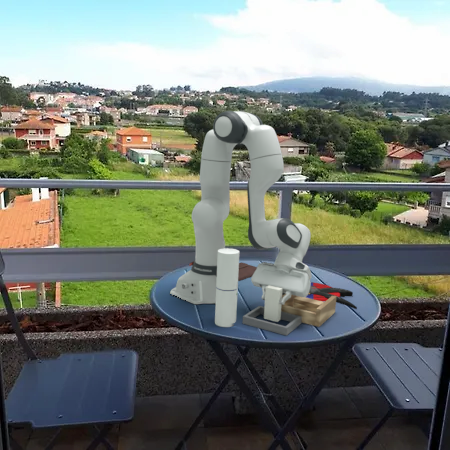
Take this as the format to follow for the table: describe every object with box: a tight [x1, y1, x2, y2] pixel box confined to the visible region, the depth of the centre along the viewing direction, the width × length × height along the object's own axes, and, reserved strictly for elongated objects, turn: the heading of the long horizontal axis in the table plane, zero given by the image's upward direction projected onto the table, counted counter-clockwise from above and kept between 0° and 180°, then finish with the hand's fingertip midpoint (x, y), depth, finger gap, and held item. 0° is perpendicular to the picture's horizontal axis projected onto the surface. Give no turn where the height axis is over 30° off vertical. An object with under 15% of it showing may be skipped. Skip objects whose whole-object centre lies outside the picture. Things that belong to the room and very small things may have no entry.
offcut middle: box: [293, 303, 316, 312], centre depth 172 cm, size 10×4×2 cm, turn 62°
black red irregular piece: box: [282, 281, 358, 310], centre depth 192 cm, size 26×4×30 cm
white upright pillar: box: [263, 285, 283, 323], centre depth 160 cm, size 5×2×11 cm, turn 59°
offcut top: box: [294, 296, 325, 309], centre depth 172 cm, size 10×4×2 cm, turn 55°
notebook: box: [238, 262, 257, 282], centre depth 220 cm, size 15×20×2 cm
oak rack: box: [281, 294, 337, 328], centre depth 171 cm, size 16×16×7 cm
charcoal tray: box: [242, 305, 302, 336], centre depth 161 cm, size 16×12×4 cm
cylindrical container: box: [214, 247, 240, 328], centre depth 160 cm, size 7×7×25 cm
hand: (272, 301), depth 159 cm, fingers closed on white upright pillar, 5 cm apart
